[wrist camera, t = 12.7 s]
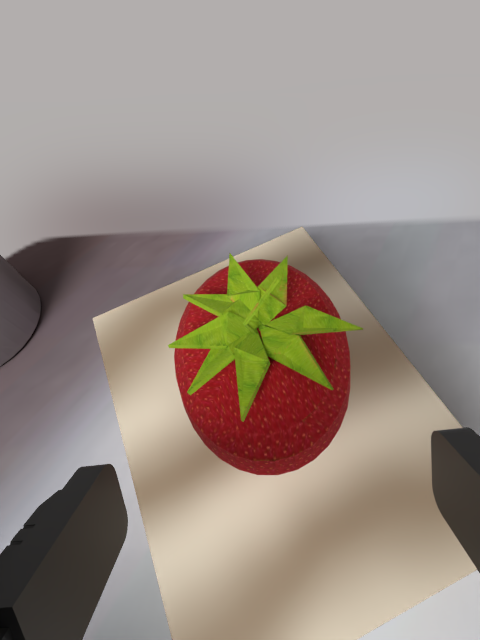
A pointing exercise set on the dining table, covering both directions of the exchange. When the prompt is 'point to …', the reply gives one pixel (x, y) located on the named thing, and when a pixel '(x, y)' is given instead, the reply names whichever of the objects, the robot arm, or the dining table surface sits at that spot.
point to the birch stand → (284, 484)
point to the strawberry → (263, 366)
